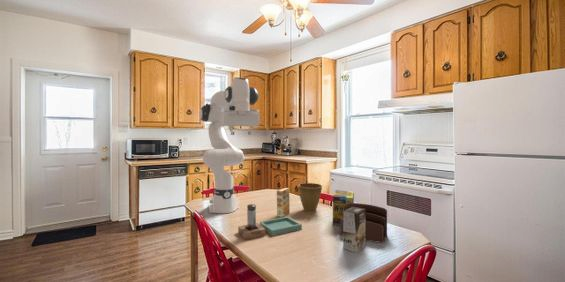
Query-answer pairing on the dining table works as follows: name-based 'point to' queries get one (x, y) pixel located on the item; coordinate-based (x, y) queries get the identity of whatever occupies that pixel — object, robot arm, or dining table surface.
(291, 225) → the tray
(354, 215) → the coffee box
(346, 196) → the protein box
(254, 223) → the spice jar
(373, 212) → the letter holder
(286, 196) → the candy box
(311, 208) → the plant pot
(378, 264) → the dining table surface
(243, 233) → the socket block
